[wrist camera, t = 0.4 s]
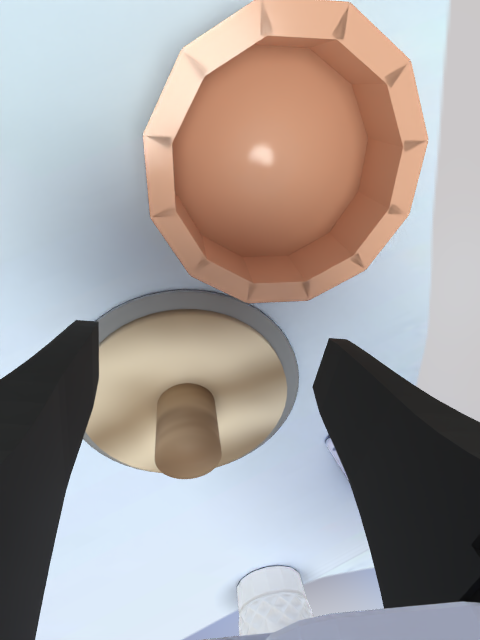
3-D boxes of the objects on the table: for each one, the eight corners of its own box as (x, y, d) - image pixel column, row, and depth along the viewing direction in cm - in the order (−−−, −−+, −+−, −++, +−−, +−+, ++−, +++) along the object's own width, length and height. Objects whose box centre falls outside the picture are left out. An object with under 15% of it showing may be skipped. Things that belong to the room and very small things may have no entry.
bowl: (402, 203, 21) (447, 226, 17) (225, 301, 22) (234, 340, 19) (332, -44, 15) (378, -83, 11) (99, 110, 16) (80, 116, 13)
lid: (313, 412, 27) (337, 468, 23) (159, 487, 29) (157, 552, 25) (223, 268, 21) (236, 312, 16) (30, 377, 22) (-2, 442, 18)
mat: (328, 410, 28) (330, 414, 28) (156, 494, 30) (155, 499, 30) (230, 241, 20) (230, 243, 20) (5, 370, 22) (3, 374, 22)
